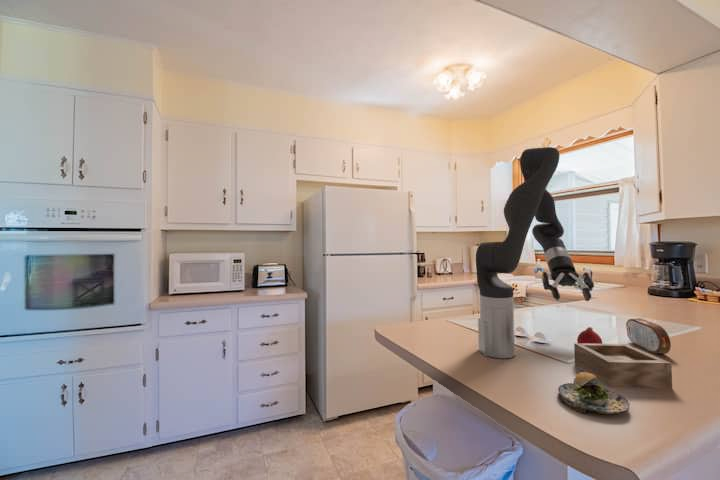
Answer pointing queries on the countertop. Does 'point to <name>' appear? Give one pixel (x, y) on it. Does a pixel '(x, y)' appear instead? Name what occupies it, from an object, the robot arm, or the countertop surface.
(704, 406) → the countertop surface
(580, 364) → the open wooden tray box
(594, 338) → the onion
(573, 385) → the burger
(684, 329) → the countertop surface
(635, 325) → the tin
